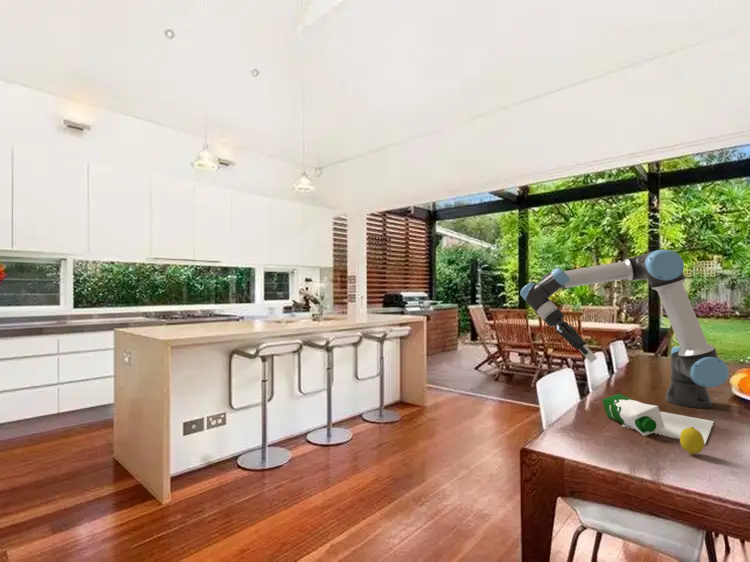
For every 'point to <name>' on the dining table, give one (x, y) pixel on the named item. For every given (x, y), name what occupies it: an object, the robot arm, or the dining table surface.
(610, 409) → the soya milk
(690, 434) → the lemon
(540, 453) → the dining table surface
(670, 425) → the mat
